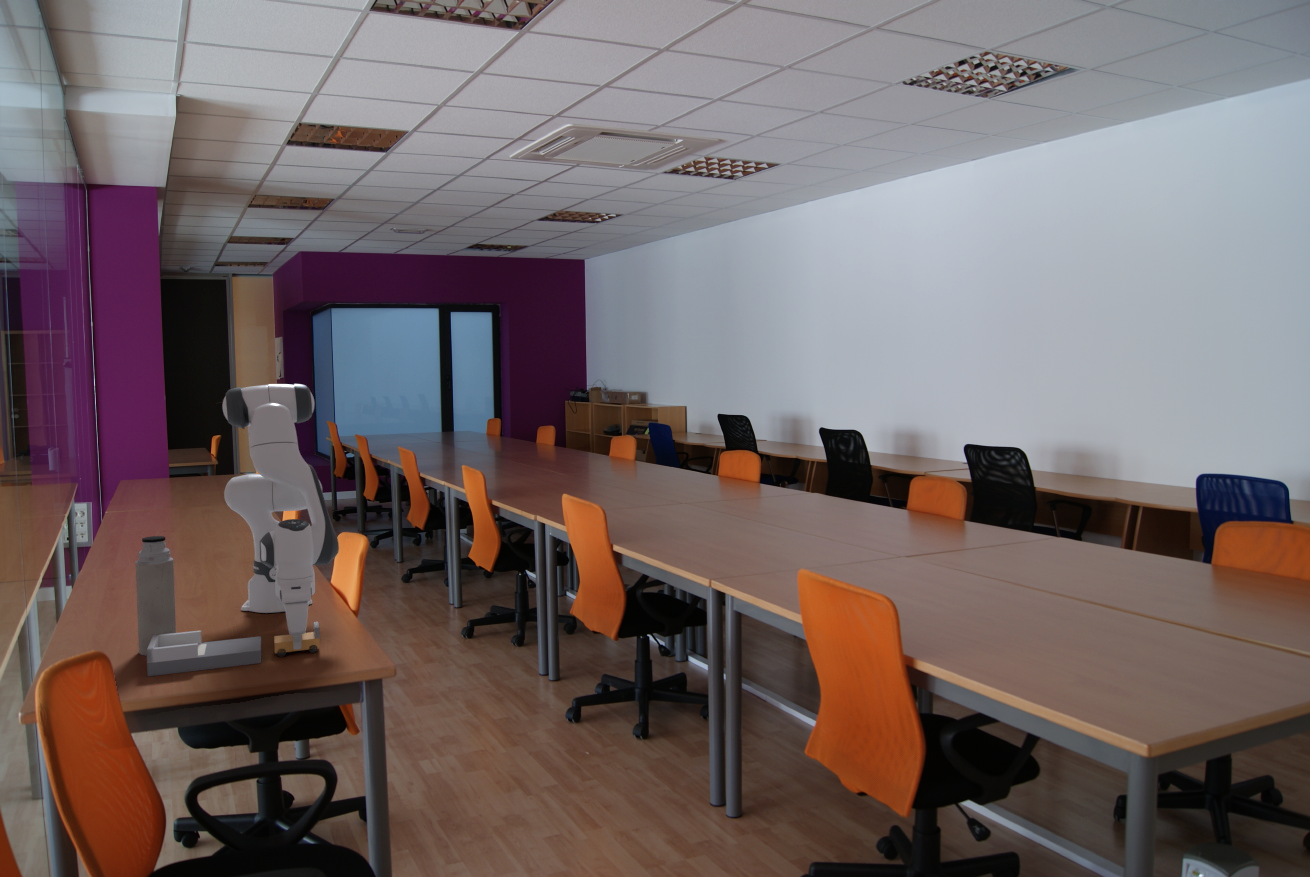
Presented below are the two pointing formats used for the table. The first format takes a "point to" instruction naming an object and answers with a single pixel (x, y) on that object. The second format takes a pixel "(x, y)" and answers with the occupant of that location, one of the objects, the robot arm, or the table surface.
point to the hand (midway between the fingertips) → (296, 643)
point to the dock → (198, 653)
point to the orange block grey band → (308, 642)
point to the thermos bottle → (154, 591)
